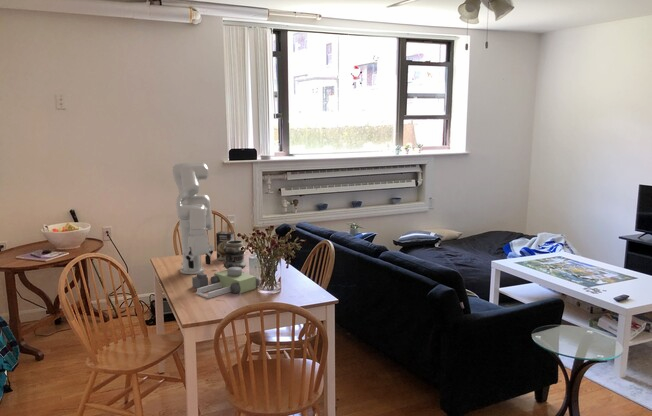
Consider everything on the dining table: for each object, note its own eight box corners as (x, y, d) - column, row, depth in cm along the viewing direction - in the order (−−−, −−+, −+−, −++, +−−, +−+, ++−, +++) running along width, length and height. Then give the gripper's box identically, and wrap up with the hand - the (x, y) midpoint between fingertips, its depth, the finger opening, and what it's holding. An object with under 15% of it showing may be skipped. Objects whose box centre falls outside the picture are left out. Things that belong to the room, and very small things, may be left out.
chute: (192, 287, 254) (192, 274, 253) (201, 284, 258) (200, 272, 257) (199, 289, 250) (199, 276, 249) (208, 287, 254) (207, 274, 253)
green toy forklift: (189, 291, 248) (188, 273, 246) (232, 278, 267) (232, 262, 266) (215, 301, 234) (215, 282, 233) (259, 287, 254) (259, 269, 252)
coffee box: (216, 260, 304) (215, 233, 301) (220, 257, 310) (219, 231, 307) (231, 260, 302) (230, 233, 300) (234, 257, 309) (234, 231, 306)
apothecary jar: (241, 278, 268) (241, 244, 265) (220, 276, 271) (219, 243, 268) (249, 271, 280) (249, 239, 277) (229, 270, 282) (228, 238, 279)
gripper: (208, 228, 258) (209, 261, 261) (178, 233, 245) (180, 268, 248) (217, 230, 253) (218, 264, 256) (187, 235, 241) (189, 271, 243)
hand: (199, 266), depth 252 cm, fingers open, 9 cm apart
